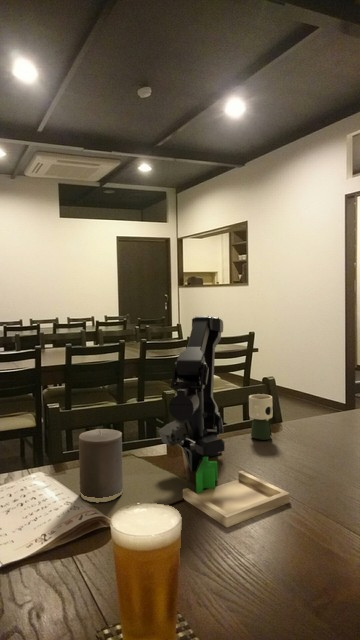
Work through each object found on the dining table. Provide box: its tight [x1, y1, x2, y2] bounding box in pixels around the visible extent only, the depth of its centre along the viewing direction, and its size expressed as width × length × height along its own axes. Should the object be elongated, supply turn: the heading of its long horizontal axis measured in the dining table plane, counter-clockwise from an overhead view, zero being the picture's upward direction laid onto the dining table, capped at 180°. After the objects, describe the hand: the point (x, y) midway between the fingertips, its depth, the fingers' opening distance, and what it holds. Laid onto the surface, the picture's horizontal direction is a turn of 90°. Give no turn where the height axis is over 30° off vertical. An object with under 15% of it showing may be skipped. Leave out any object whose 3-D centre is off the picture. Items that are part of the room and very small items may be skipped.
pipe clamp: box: [195, 457, 219, 494], centre depth 104 cm, size 11×4×5 cm, turn 168°
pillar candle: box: [78, 428, 124, 498], centre depth 101 cm, size 10×10×15 cm
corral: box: [182, 470, 291, 528], centre depth 96 cm, size 15×17×2 cm
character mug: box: [248, 393, 274, 441], centre depth 136 cm, size 11×7×13 cm, turn 153°
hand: (193, 471), depth 109 cm, fingers closed
